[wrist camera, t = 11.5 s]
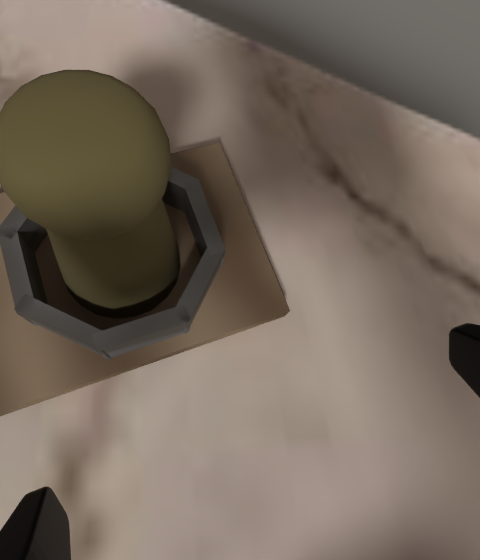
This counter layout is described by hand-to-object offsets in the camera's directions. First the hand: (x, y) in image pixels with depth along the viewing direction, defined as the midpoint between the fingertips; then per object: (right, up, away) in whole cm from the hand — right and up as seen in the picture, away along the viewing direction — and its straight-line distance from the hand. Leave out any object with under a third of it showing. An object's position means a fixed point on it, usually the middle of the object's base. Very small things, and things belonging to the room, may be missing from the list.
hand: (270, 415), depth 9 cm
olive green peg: (-7, +4, +13) cm, 15 cm away
